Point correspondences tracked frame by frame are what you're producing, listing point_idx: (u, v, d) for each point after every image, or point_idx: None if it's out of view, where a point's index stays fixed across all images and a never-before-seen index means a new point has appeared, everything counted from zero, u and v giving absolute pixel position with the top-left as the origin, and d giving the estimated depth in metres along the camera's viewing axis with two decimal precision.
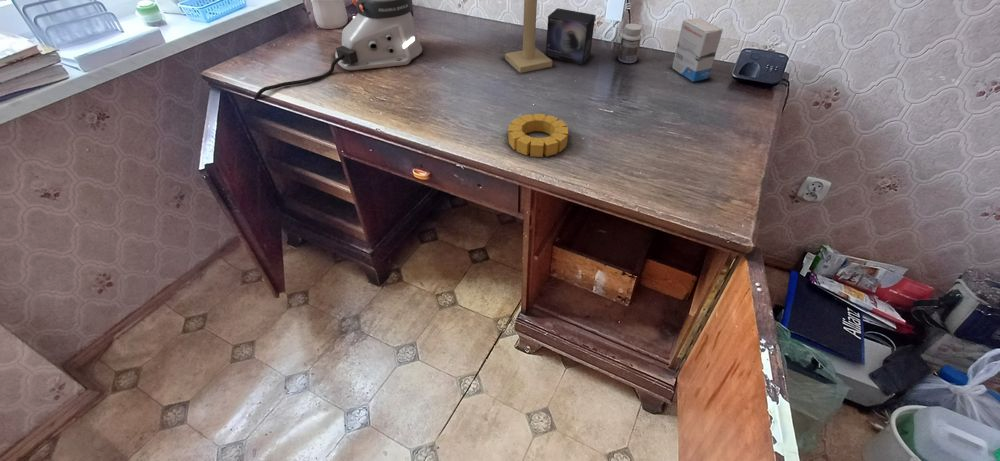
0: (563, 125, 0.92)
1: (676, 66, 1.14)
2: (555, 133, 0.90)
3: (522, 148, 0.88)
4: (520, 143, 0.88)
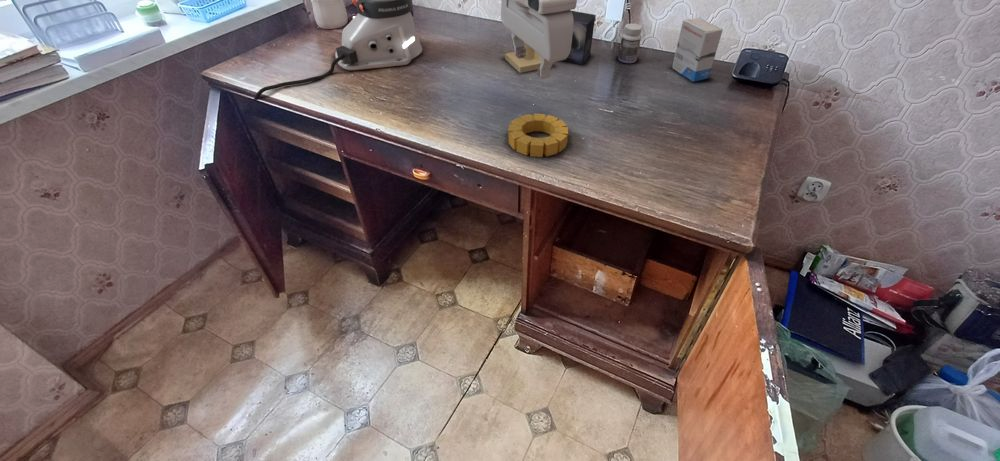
0: (563, 125, 0.92)
1: (676, 66, 1.14)
2: (555, 133, 0.90)
3: (522, 148, 0.88)
4: (520, 143, 0.88)
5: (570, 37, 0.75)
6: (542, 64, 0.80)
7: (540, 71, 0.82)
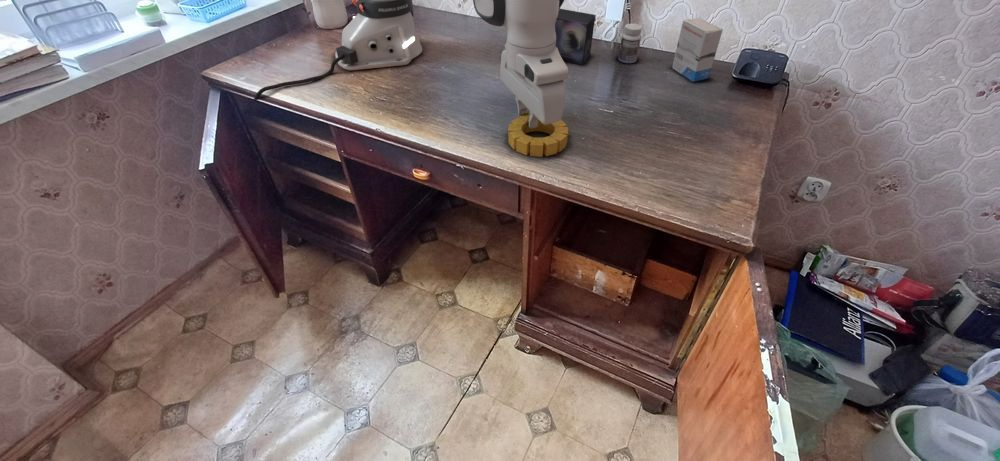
0: (563, 125, 0.92)
1: (676, 66, 1.14)
2: (555, 133, 0.90)
3: (522, 148, 0.88)
4: (520, 143, 0.88)
5: (562, 104, 0.83)
6: (531, 117, 0.90)
7: (529, 122, 0.92)
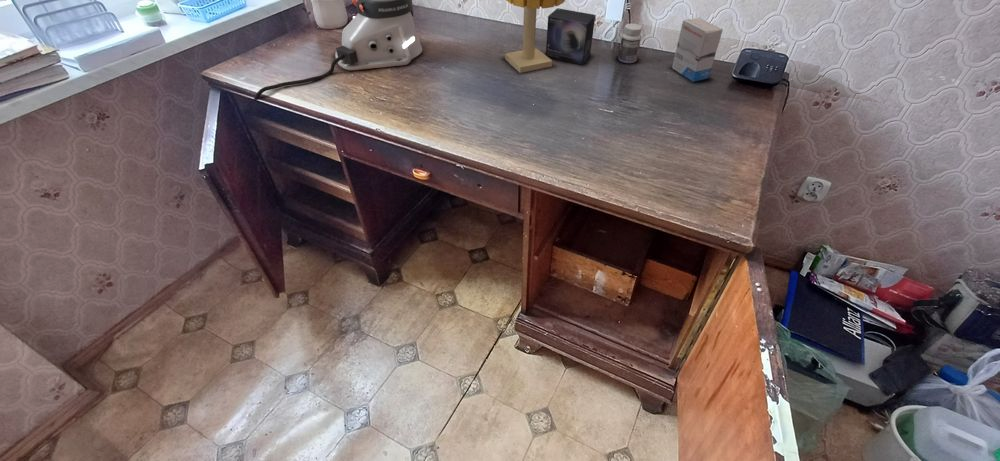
0: None
1: (676, 66, 1.14)
2: None
3: None
4: None
5: None
6: None
7: None
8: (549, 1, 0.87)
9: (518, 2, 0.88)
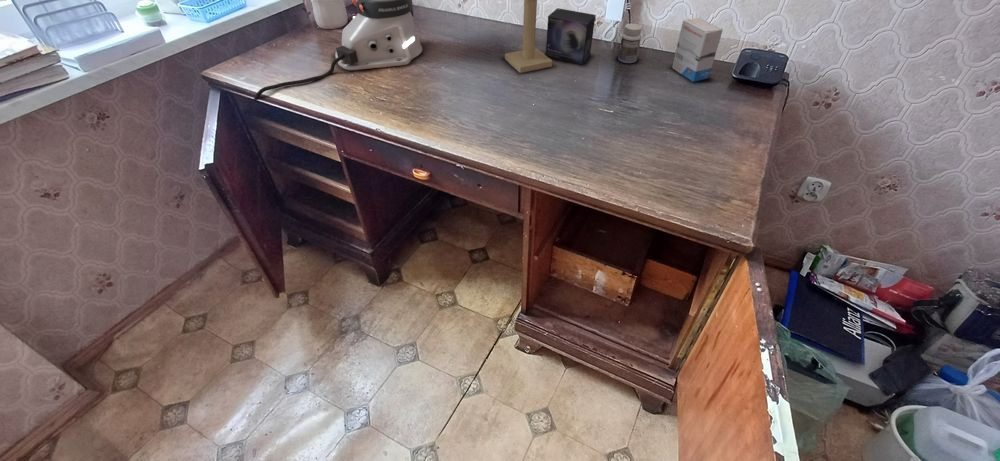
0: None
1: (676, 66, 1.14)
2: None
3: None
4: None
5: None
6: None
7: None
8: None
9: None
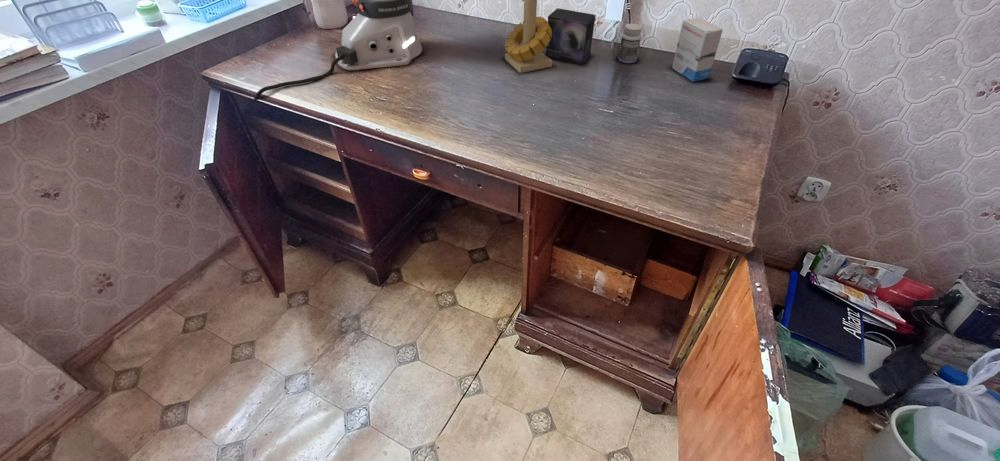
0: (543, 23, 1.13)
1: (676, 66, 1.14)
2: (537, 33, 1.12)
3: (517, 57, 1.14)
4: (514, 54, 1.14)
5: None
6: None
7: None
8: (538, 49, 1.12)
9: (517, 59, 1.15)
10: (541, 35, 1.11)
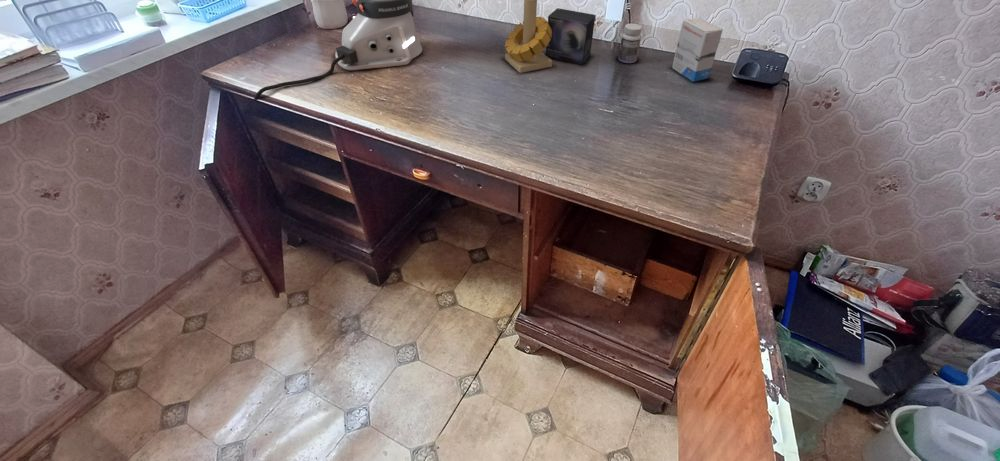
0: (543, 23, 1.13)
1: (676, 66, 1.14)
2: (537, 33, 1.12)
3: (517, 57, 1.14)
4: (514, 54, 1.14)
5: None
6: None
7: None
8: (538, 49, 1.12)
9: (517, 59, 1.15)
10: (541, 35, 1.11)
